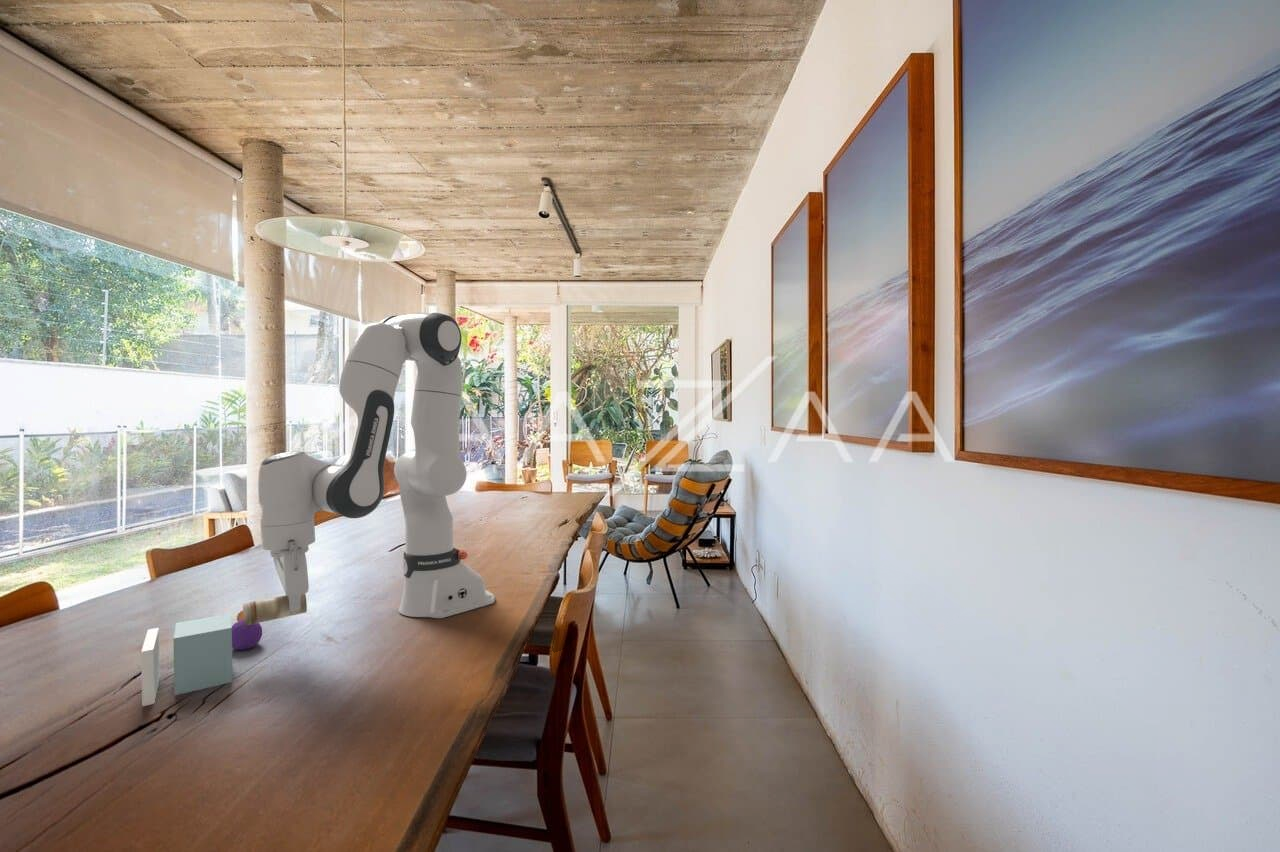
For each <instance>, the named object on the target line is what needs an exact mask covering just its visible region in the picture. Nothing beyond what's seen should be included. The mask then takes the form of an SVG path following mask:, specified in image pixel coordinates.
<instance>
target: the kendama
mask: <svg viewBox="0 0 1280 852" xmlns="http://www.w3.org/2000/svg"><path fill="white" fill-rule="evenodd" d="M236 621H237V622H235V623H234V624H232V625H231V626H232V650H233V649H234V650H235V651H246V650H250V649H252V648H253V647H256V646H257V644H258V643H259V642H260V641H261V639H262V636H263V628H262V625H261V622H260V623H257V624H252V625H246V626H244V617H243V610H241V611H240V612H238V614H237V616H236ZM249 648H250V649H249Z"/></svg>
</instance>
